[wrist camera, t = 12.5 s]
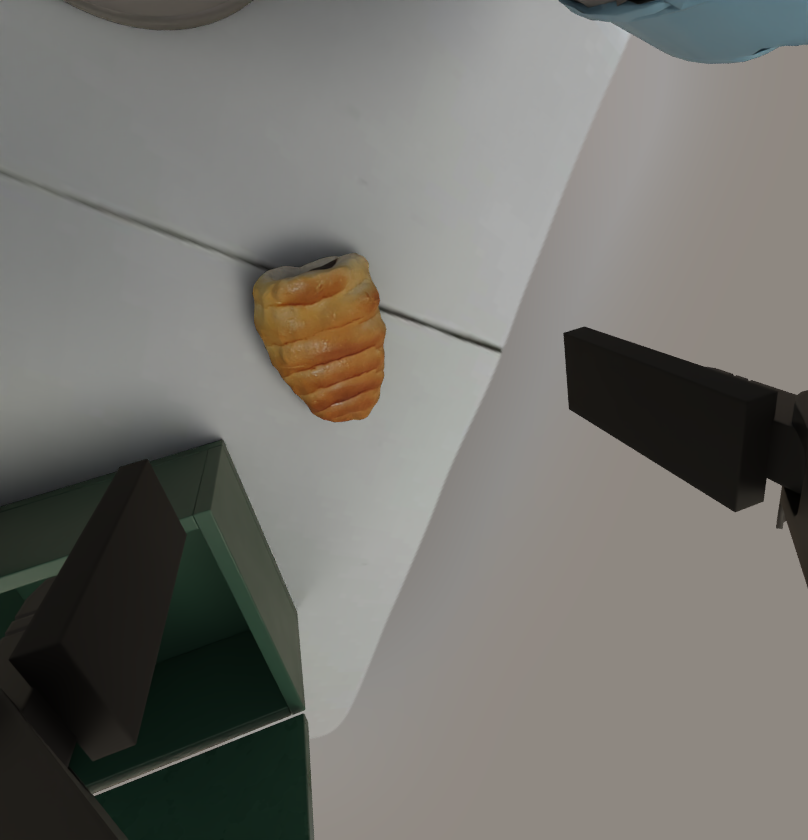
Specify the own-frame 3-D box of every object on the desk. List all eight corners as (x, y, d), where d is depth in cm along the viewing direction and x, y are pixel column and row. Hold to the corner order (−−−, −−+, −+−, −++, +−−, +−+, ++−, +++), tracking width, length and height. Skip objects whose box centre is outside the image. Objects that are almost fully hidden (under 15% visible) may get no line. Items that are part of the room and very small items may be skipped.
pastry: (399, 395, 31) (416, 417, 27) (296, 429, 30) (300, 456, 26) (359, 242, 27) (372, 246, 23) (238, 276, 26) (234, 286, 22)
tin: (-42, 519, 27) (-149, 625, 20) (223, 438, 29) (210, 509, 22) (87, 689, 33) (40, 815, 26) (297, 612, 35) (305, 710, 28)
